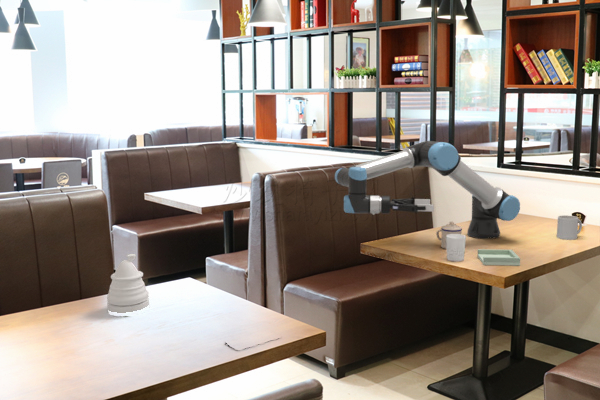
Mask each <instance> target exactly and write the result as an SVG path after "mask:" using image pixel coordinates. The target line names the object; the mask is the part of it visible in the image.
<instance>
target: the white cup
mask: <svg viewBox="0 0 600 400" xmlns="http://www.w3.org/2000/svg"><path fill="white" fill-rule="evenodd" d="M466 236H467V235H465V234H462V233H461V234H448V235H446V249H445V250H446V259H447V261H450V262H458V263H459V262H463V261H464V260H465V253H466V252H465V251H466V250H465V249H466V241H467V240H466V239H467V237H466Z"/></svg>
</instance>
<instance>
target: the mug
mask: <svg viewBox="0 0 600 400" xmlns="http://www.w3.org/2000/svg"><path fill="white" fill-rule="evenodd" d="M556 225H557V226H556V227H557V228H556V238H557V239H559V238H560V240H566V241H567V240H569V241H572V240H573V241H575V240H577V239H578V235H579V234H580V233H581V232H582V228H583V223H582V221H581V219H579V217H578V216H576V215H575V216H574V215H569V214H568V215H557V224H556Z"/></svg>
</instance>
